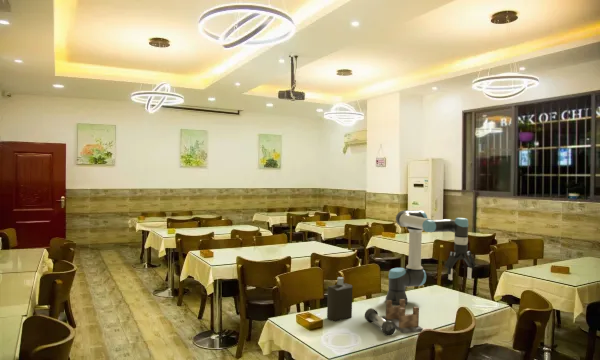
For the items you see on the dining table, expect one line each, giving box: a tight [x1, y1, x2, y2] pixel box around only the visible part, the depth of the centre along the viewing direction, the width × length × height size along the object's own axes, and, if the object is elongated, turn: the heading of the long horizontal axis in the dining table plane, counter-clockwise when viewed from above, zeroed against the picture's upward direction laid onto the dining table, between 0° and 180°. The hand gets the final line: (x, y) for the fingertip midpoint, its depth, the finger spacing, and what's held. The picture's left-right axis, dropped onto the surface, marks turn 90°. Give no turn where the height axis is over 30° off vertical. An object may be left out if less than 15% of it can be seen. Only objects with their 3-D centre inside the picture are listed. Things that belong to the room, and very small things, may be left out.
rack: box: [381, 299, 424, 334], centre depth 253 cm, size 13×24×12 cm, turn 18°
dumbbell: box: [364, 307, 396, 337], centre depth 246 cm, size 8×23×8 cm, turn 18°
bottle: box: [326, 276, 353, 322], centre depth 262 cm, size 8×16×25 cm, turn 127°
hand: (459, 279), depth 253 cm, fingers open, 13 cm apart
